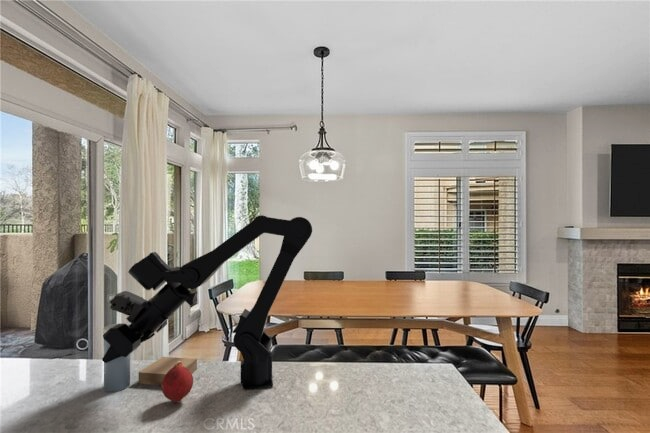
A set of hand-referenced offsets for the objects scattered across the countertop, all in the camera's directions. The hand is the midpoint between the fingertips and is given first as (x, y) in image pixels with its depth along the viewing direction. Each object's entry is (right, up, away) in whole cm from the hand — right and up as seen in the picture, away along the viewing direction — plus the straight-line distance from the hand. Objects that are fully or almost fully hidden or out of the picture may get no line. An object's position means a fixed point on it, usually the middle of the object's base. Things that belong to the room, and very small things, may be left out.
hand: (110, 356), depth 76 cm
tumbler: (+1, -7, 0) cm, 7 cm away
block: (+10, -7, +5) cm, 13 cm away
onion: (+17, -7, -6) cm, 20 cm away
